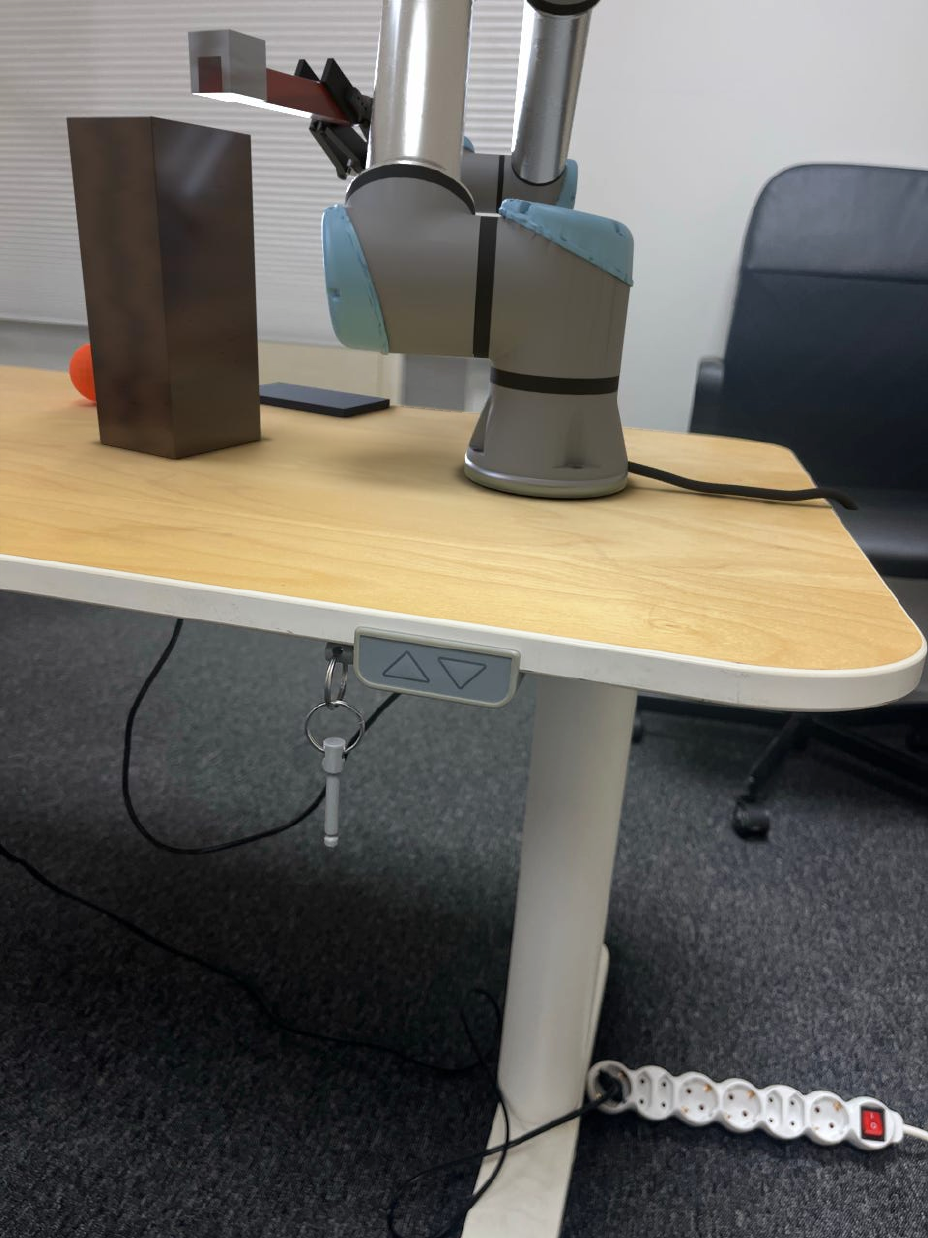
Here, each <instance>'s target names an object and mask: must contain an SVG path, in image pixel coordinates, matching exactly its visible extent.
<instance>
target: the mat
mask: <svg viewBox="0 0 928 1238" xmlns="http://www.w3.org/2000/svg"><path fill="white" fill-rule="evenodd" d="M259 391H260V404H263V405H268V406H275V407H281V408H286V409H293V410H299V411H303V412H304V411H306V412H309V413H316V414H322V415H329V416H334V417H340V418H346V417H352V416H356V415H360V414H364V413H369V412H373V411H377V410H382V409H387V408H390V407H391V399H390V398H385V397H384V398H383V397H380V396H379V397H378V396H373V395H366V394H360V393H353V392H346V391H339V390H333V389H326V388H319V387H314V386H309V385H308V386H307V385H302V384H301V385H300V384H293V383H289V382H288V383H287V382H281V381H278V382H271V383H266V384H259Z"/></svg>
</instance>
